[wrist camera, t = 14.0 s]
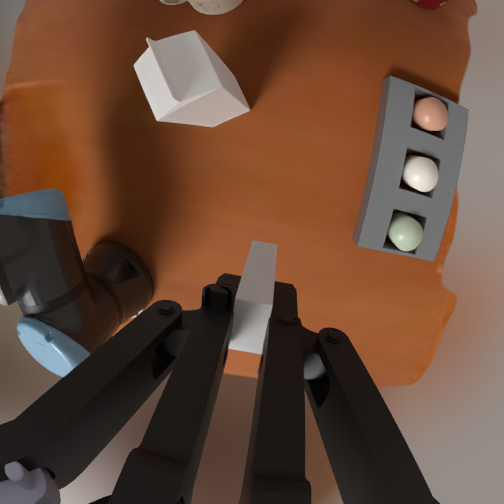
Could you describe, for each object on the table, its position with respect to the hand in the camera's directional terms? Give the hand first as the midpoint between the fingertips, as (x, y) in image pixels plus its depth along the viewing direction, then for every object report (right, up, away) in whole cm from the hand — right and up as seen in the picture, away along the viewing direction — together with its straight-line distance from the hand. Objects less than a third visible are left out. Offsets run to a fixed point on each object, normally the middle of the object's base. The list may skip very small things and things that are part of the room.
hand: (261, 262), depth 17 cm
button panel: (+23, +13, +18) cm, 32 cm away
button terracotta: (+25, +21, +15) cm, 35 cm away
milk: (-5, +22, +18) cm, 29 cm away
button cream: (+23, +13, +18) cm, 32 cm away
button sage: (+22, +5, +22) cm, 31 cm away
